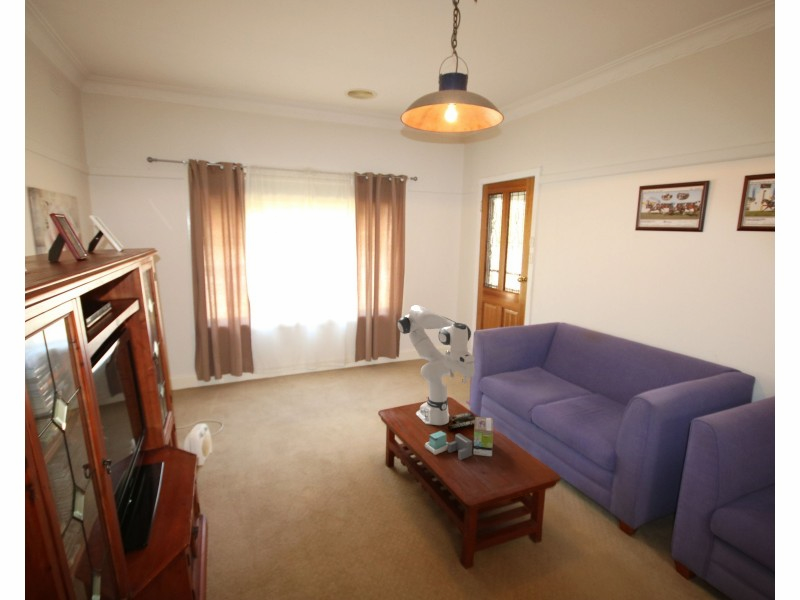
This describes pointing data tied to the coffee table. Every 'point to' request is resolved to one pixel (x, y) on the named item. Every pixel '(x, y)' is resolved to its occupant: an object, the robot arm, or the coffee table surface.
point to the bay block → (461, 446)
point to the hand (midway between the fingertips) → (458, 379)
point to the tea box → (483, 436)
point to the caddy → (437, 440)
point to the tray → (436, 449)
